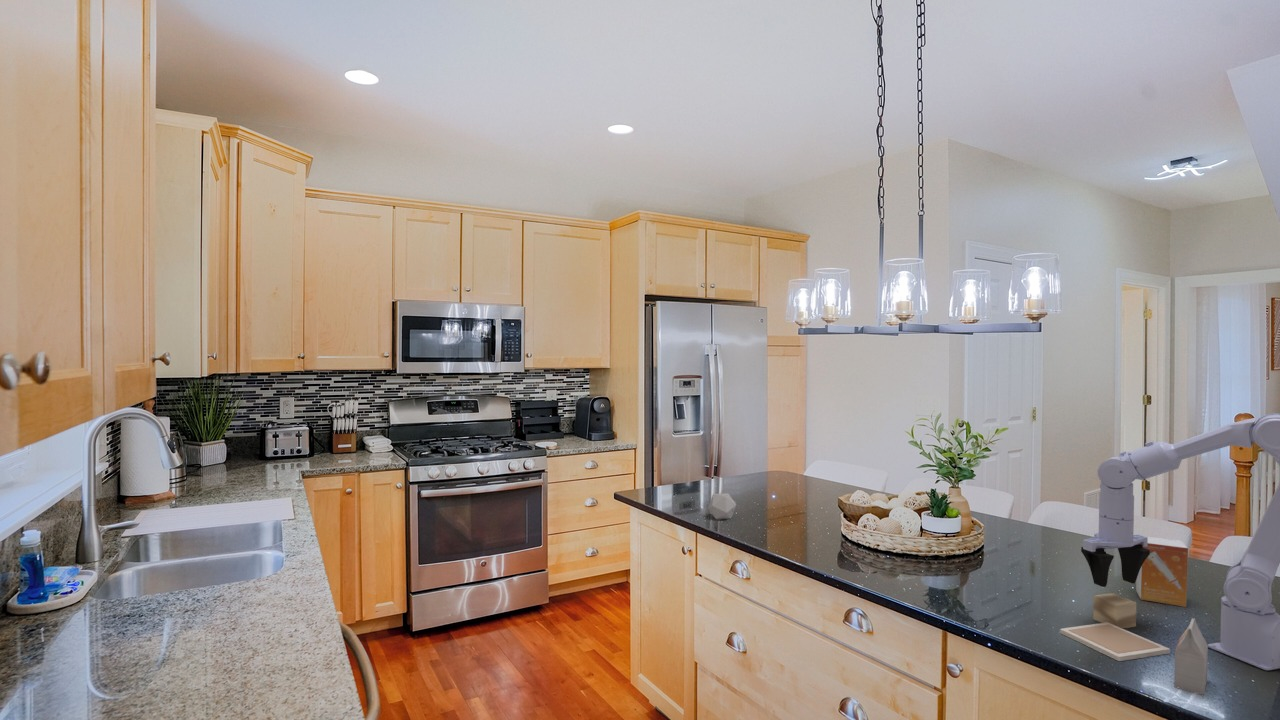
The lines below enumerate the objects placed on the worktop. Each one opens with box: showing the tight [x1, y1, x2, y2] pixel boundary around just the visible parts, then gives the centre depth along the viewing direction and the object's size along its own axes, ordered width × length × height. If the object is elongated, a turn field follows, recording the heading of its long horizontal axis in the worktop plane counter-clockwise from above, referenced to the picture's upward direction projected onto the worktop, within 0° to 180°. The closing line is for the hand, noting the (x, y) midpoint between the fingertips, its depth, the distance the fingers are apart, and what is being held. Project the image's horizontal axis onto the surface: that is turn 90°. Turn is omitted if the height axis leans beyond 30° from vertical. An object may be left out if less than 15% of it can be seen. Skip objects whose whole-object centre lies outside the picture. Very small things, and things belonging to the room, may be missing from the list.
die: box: [707, 493, 737, 521], centre depth 213 cm, size 8×9×10 cm
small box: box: [1135, 536, 1189, 608], centre depth 145 cm, size 8×6×13 cm
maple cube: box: [1092, 592, 1137, 629], centre depth 133 cm, size 5×5×5 cm
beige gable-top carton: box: [1173, 617, 1209, 696], centre depth 109 cm, size 4×7×10 cm, turn 136°
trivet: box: [1059, 622, 1171, 662], centre depth 124 cm, size 12×12×1 cm
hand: (1114, 583), depth 133 cm, fingers open, 7 cm apart
